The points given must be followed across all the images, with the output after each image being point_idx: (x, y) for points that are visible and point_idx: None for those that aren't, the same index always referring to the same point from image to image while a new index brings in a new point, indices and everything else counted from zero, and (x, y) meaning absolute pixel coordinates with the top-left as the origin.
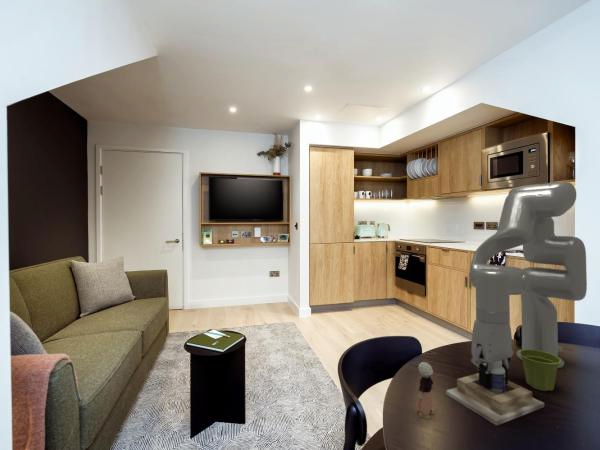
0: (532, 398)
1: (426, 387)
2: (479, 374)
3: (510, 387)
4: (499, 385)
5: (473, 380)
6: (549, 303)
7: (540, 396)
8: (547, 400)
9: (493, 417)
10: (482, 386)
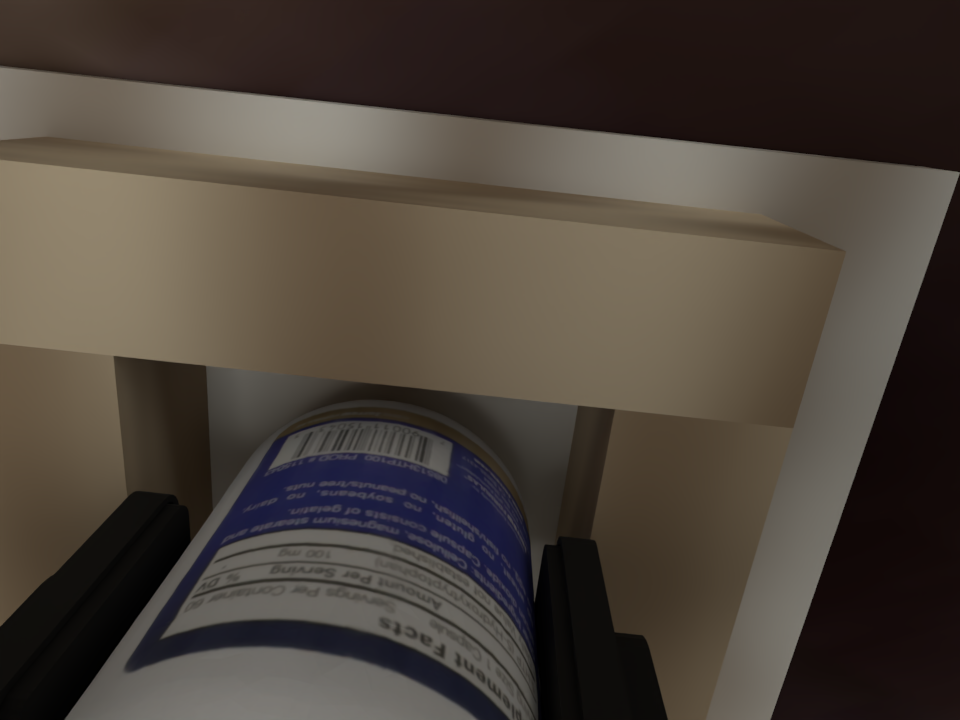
0: (750, 702)
1: None
2: (30, 614)
3: None
4: None
5: (176, 351)
6: None
7: (953, 659)
8: (912, 715)
9: None
10: (246, 463)
